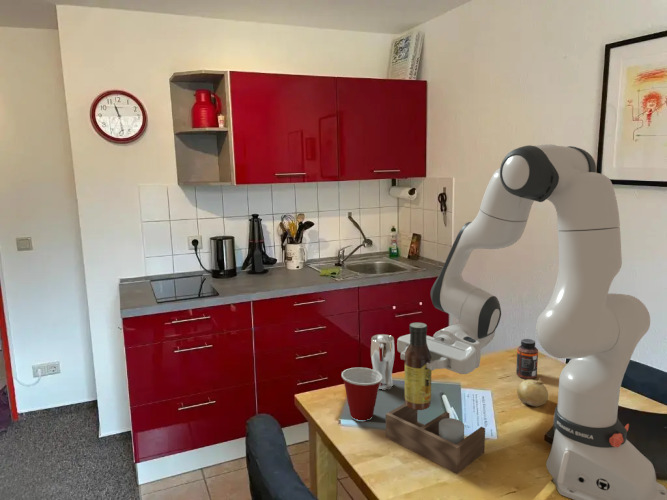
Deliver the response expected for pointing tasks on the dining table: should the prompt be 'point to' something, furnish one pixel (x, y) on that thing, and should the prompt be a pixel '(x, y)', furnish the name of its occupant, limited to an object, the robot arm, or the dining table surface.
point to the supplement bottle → (527, 359)
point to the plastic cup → (361, 391)
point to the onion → (532, 392)
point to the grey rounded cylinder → (451, 430)
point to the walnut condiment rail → (433, 439)
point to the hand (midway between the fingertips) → (415, 361)
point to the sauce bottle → (417, 369)
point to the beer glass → (383, 358)
